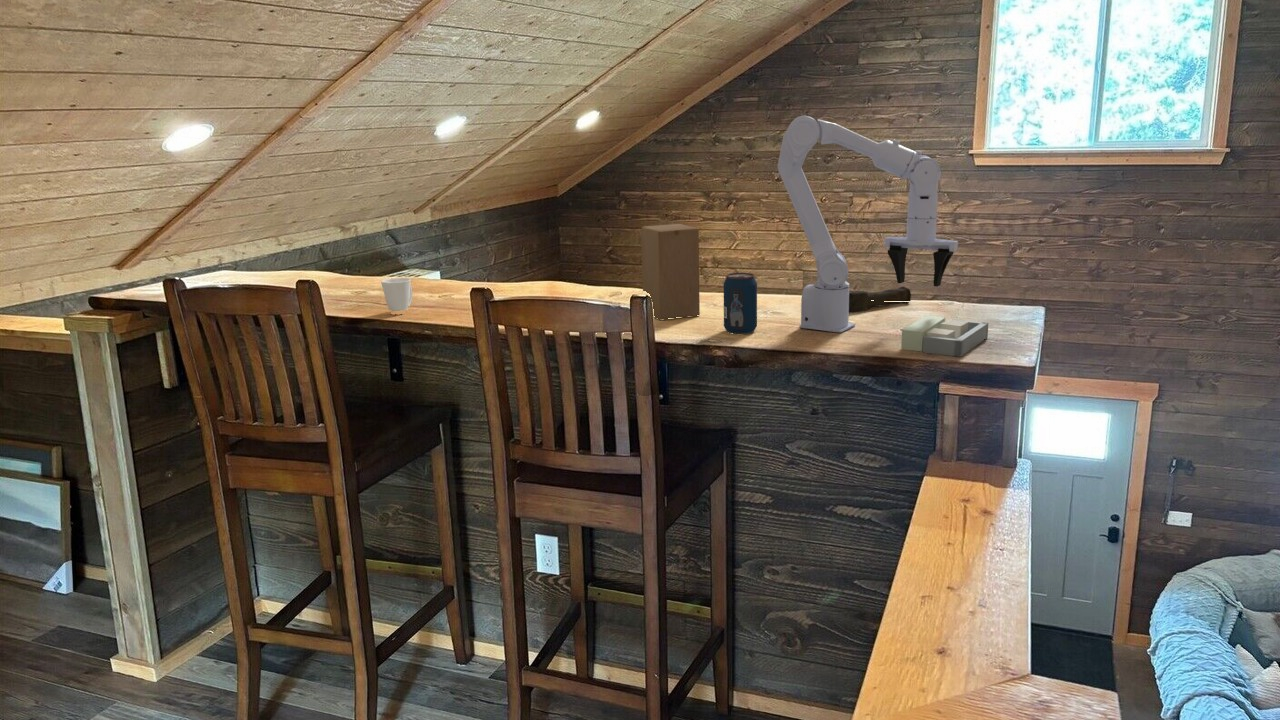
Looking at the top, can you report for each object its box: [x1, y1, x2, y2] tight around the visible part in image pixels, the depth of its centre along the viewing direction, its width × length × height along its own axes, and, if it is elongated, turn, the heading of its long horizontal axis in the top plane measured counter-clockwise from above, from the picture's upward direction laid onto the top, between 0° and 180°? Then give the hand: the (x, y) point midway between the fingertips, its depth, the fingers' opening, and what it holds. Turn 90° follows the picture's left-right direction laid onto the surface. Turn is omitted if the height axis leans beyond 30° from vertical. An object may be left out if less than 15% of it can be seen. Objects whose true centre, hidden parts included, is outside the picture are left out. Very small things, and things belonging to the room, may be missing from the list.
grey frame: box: [922, 318, 989, 358], centre depth 185 cm, size 7×17×3 cm, turn 145°
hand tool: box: [849, 286, 912, 313], centre depth 220 cm, size 19×4×5 cm, turn 118°
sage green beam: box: [900, 315, 946, 352], centre depth 188 cm, size 4×14×4 cm, turn 146°
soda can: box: [723, 272, 758, 335], centre depth 200 cm, size 7×7×12 cm
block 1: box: [926, 328, 955, 339], centre depth 183 cm, size 4×4×4 cm
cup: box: [380, 277, 413, 312], centre depth 229 cm, size 7×10×8 cm
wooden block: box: [640, 223, 701, 320], centre depth 216 cm, size 10×10×20 cm
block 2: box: [940, 319, 968, 339], centre depth 189 cm, size 4×4×4 cm
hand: (918, 284), depth 197 cm, fingers open, 7 cm apart
